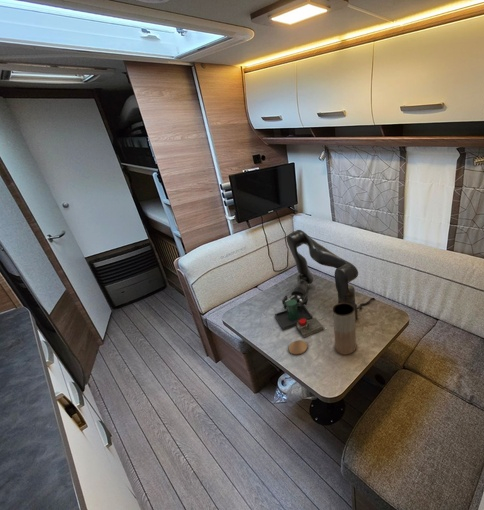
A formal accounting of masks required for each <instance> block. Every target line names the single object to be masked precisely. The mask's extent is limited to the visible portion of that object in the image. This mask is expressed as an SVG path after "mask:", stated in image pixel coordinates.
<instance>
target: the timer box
mask: <svg viewBox="0 0 484 510" xmlns="http://www.w3.org/2000/svg"><path fill="white" fill-rule="evenodd" d="M305 320H306V319H305ZM296 328H297V329H298V331H299V332H300V334H301V335H302V337H303V338H307V337H309V336H312V335H314V334H316V333H319V332H321V331H323V330H324V325H322V323H321V322H320V321H319V320H318V318H317V317H312V319H310V320H306V324H305V325H300V324H299V321H298V322H297V325H296Z"/></svg>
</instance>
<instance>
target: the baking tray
mask: <svg viewBox="0 0 484 510" xmlns="http://www.w3.org/2000/svg"><path fill="white" fill-rule="evenodd" d="M297 306H298V314H299V318H298V319H296V320H289V319H288V313H287V309H284V310H283V311H279V312H277V313H275V314H274V317H275V319H276V320H277V322H278V324H279V326H280V327H281V329H282V330H283V331H286V330H287V329H288V330H289V329H290V328H294V327H297V322H298V321H299V320H300V319H306V320H310V319H313V316H312V314H311V312H309V311H308V309H307V308H306V307H305V305H303V307H302V308H301V309H299V305H297Z"/></svg>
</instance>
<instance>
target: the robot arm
mask: <svg viewBox="0 0 484 510" xmlns="http://www.w3.org/2000/svg"><path fill="white" fill-rule="evenodd" d="M286 243H287V245H288V248H289V250H290V253H291V255H292V257H293V260H294V261H295V265H296V270H297V272H298V275H297V277H296V280H297V281H296V285H295V286H294V288H293V290H292V292H291V294H290V296H288V295H285V296H284V297H283V298H282V305H283V309H284V310H287V307H286V302H287V301H288V300H291V299H294V300H296V301H297V304H299V305H298V306H299V309H301V308H302V307H303V306H307V305H308V301H309V296H308V295H306V293H307V289H308V287H309V285H312V284H313V283H314V276H313V273H312V272H311V270H310V269H309V265H308V261H307V259H306V258H305V256H303V255H302V253H299V251H298V248H299V247H301V246H303V245H306V246H307V247H308V252H309V256H310V258H311V259H312V260H313V261H315V262H316V263H317V264H319V265H321V266H324V267H330V268H334V269H335V270H334V283H335V288H336V291H337V304H339V303H350V304H352V305H353V306H354V308H355V321H356V320H358V309H360V310H362V306H366V305H369V303H370V302H371V301H372V300H375V299H376V297H371V298H370V299H368V301H367V302H364V303H360V304H359V306H358V304H356V289H355V287H354V286H353V285H352V284H350V282H352V281H355V280H356V279H357V278H358V277H359V271H358V269H357V267H356V266H355V265H354V264H353V263H351V262H350V261H347V260H346V259H343V258H342V257H340V256H338V255H337V254H335V253H333V252H332V251H330V250H329V249H328V248H326V247H325V246H323V245H321V244H320V243H318V242H317V241H316V240H314V239H313V238H312V237H310V235H308V234H307V233H306V232H305V231H304V230H302V229H296V230H294V231H292V232H291V233H288V234H287V235H286Z"/></svg>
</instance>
